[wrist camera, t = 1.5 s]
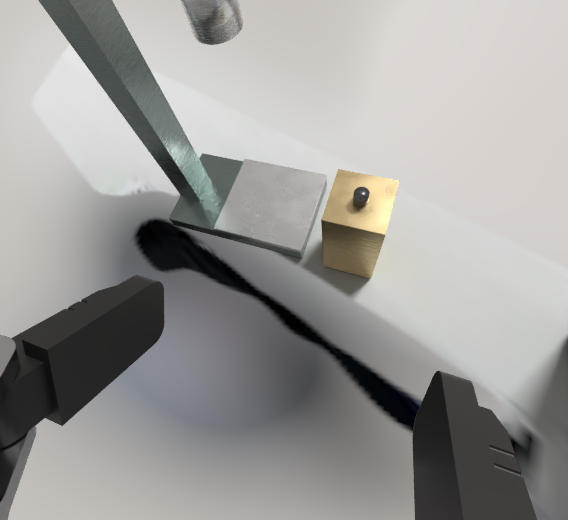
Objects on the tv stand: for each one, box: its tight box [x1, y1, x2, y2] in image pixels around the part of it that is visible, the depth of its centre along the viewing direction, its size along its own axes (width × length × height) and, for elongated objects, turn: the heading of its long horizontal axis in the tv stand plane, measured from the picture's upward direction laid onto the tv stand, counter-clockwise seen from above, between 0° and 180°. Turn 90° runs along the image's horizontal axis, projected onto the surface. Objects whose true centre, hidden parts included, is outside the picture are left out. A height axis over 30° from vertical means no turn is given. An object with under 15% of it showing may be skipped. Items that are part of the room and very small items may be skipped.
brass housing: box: [321, 169, 399, 278], centre depth 31 cm, size 5×5×11 cm
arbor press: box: [39, 0, 327, 258], centre depth 27 cm, size 16×13×28 cm
